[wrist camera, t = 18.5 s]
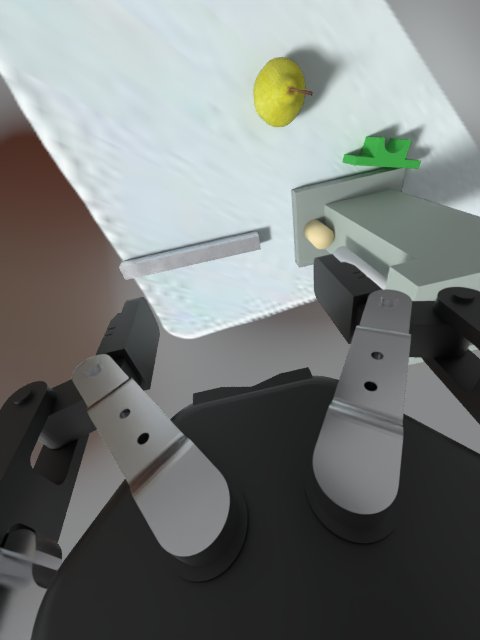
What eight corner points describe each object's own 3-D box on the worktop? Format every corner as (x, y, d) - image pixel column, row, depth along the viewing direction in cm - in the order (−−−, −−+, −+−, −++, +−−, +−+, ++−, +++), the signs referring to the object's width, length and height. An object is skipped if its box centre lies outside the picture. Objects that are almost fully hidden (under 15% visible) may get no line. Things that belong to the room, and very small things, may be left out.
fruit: (241, 108, 38) (255, 101, 29) (265, 51, 35) (290, 21, 25) (279, 135, 41) (304, 137, 31) (304, 84, 38) (342, 69, 28)
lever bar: (121, 261, 49) (118, 267, 47) (256, 231, 49) (258, 235, 47) (127, 273, 51) (124, 280, 49) (258, 244, 51) (260, 249, 49)
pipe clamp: (409, 140, 44) (429, 141, 40) (400, 165, 46) (418, 168, 42) (348, 135, 42) (363, 136, 38) (341, 162, 44) (355, 165, 41)
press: (291, 189, 46) (439, 284, 18) (396, 165, 46) (707, 222, 18) (295, 262, 54) (400, 403, 26) (384, 241, 54) (582, 361, 26)
